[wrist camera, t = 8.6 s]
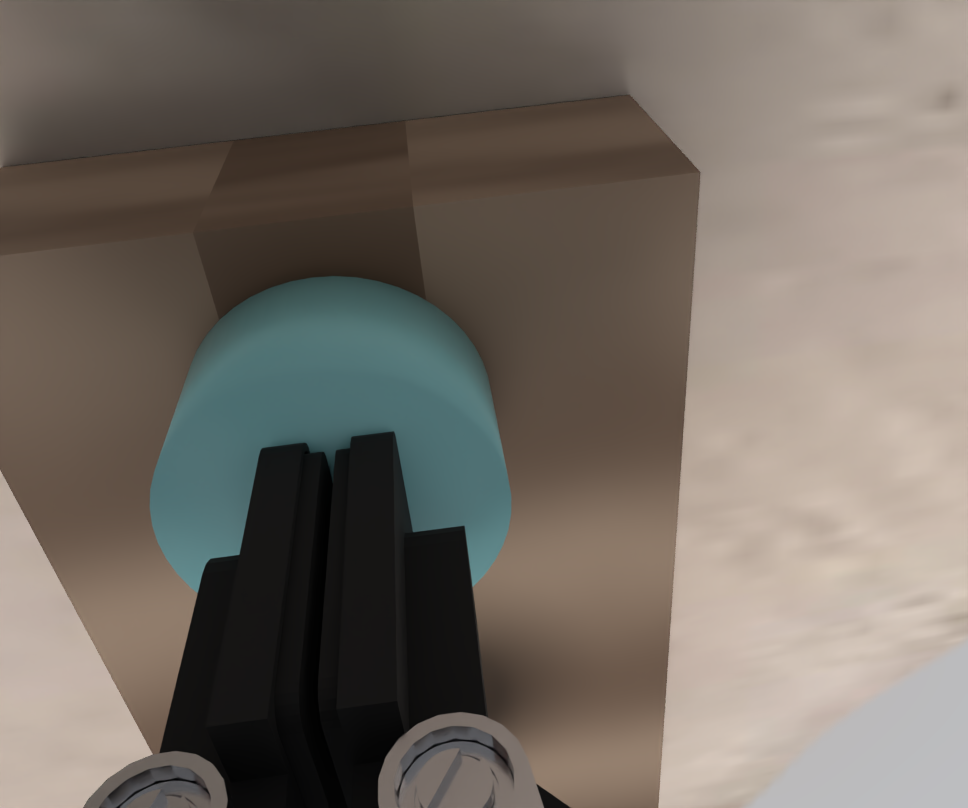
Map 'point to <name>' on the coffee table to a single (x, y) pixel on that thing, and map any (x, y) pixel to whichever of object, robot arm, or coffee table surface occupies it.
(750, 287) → the coffee table surface
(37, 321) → the walnut mount
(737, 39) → the coffee table surface
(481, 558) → the teal knob
